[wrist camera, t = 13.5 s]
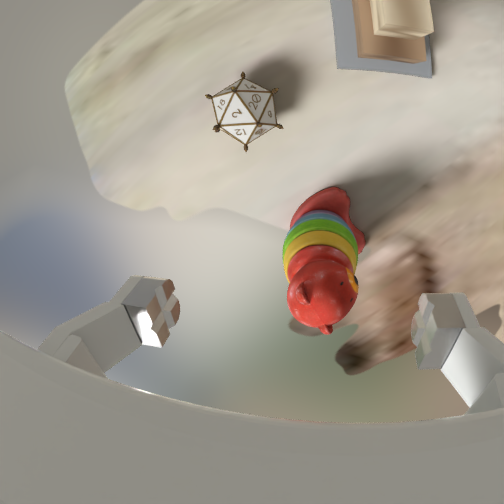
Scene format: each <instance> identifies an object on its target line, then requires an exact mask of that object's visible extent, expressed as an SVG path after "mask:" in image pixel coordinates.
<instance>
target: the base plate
mask: <svg viewBox="0 0 504 504" xmlns="http://www.w3.org/2000/svg"><path fill="white" fill-rule="evenodd" d="M330 1H331V9H332V17H333V26H334V36H335V46H336V59H337V69H352V70H367V71H379V72H388V73H397V74H405V75H412V76H418V77H424V78H432V67H431V52H430V40H429V34H428V35H426V36H424V37H425V48H426V61H424V62H419V63H415V64H411V63H405V62H397V61H389V60H380V59H369V58H358V54H357V42H356V32H355V23H354V14H353V7H352V0H330Z"/></svg>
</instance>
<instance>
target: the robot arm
mask: <svg viewBox="0 0 504 504" xmlns="http://www.w3.org/2000/svg"><path fill="white" fill-rule="evenodd" d="M174 290H175V288H174V285H173V282H172V281H171V280H170V279H163V278H156V277H147V276H138V275H134V276H131V277H130V278H129V279H128V280H127V281H126V283H125V284H124V285H123V286H122V287H121V288H120V290H119V291H118V292H117V293H116V294H115V296H114V297H113V298H112V299H111V300H110V302H104V303H102V304H100V305H98V306H96V307H94V308H92V309H90V310H88V311H86V312H85V313H83V314H80V315H78V316H77V317H75V318H73V319H71V320H69V321H67V322H65V323H63V324H61V325H59V326H57V327H55V328H54V329H53V331H52V332H51V333H50V334H49V335H48V337H47V338H46V339H45V341H43V343H42V344H41V345H40V346H39V348H38V349H35V348H33V347H31V346H29V345H27V344H25V343H23V342H21V341H20V340H18V339H16V338H14V337H12V336H10V335H8V334H7V333H5V332H3V331H1V330H0V504H504V344H503V343H502V342H501V341H500V340H499V339H498V338H496V337H495V336H494V335H493V334H492V333H490V332H489V331H488V330H487V329H486V328H484V327H480V325H479V323H478V321H477V319H476V316H475V314H474V312H473V310H472V307H471V305H470V303H469V301H468V299H467V297H466V295H465V294H464V293H422V295H421V296H420V299H419V302H418V305H419V308H420V310H419V311H417V312H416V313H415V314H414V318H413V321H412V328H411V335H412V341H413V343H414V344H415V345H416V346H417V349H416V352H415V356H416V361H417V366H418V369H441V371H442V372H443V373H444V374H445V376H446V377H447V378H448V380H449V381H450V382H451V384H452V385H453V386H454V388H455V389H456V390H457V391H458V393H459V394H460V395H461V397H462V398H463V399H464V401H465V402H466V404H467V405H468V406H469V409H468V410H467V412H466V413H465V414H464V415H462V416H455V417H448V418H440V419H431V420H421V421H408V422H389V423H335V422H334V423H333V422H315V421H302V420H291V419H281V418H272V417H264V416H257V415H250V414H244V413H238V412H231V411H226V410H221V409H216V408H210V407H206V406H201V405H197V404H192V403H188V402H183V401H179V400H176V399H172V398H168V397H164V396H161V395H157V394H153V393H150V392H146V391H143V390H140V389H136V388H133V387H130V386H127V385H124V384H121V383H118V382H115V381H112V380H109V379H108V378H107V377H106V375H105V374H104V373H105V372H106V371H107V370H109V369H110V368H112V367H113V366H114V365H115V364H117V363H118V362H120V361H121V360H122V359H124V358H125V357H126V356H128V355H129V354H130V353H132V352H133V351H134V350H136V349H137V348H138V347H140V346H141V345H142V344H145V345H150V346H156V347H161V348H162V347H163V345H164V344H165V342H166V340H167V338H168V337H169V335H170V332H169V328H171V327H173V326H174V325H175V324H176V323H177V321H178V319H179V314H180V304H179V301H178V299H177V298H176V297H175V296H174V295H173V292H174Z"/></svg>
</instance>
